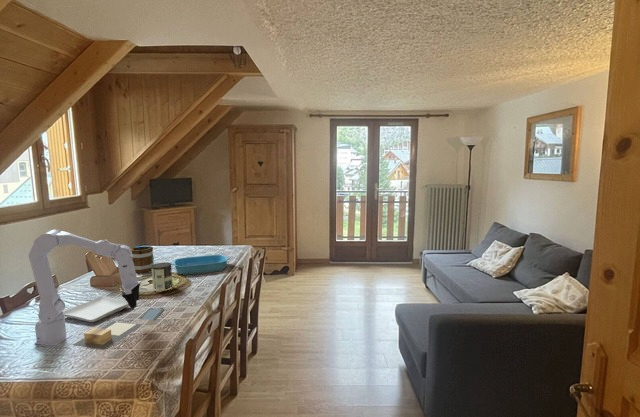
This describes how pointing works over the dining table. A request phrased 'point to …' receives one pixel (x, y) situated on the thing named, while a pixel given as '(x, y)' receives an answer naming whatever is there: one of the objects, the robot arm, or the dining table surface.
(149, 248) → the mug
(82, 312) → the salad plate
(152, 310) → the smartphone
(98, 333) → the pine block
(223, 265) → the casserole dish
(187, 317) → the dining table surface
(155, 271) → the coffee can
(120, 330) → the mat
